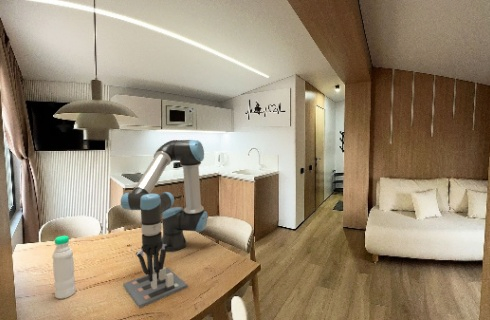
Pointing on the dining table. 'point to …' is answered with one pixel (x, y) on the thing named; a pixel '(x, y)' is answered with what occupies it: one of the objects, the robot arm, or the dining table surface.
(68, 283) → the water bottle
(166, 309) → the dining table surface
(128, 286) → the panel
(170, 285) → the breaker
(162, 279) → the breaker
